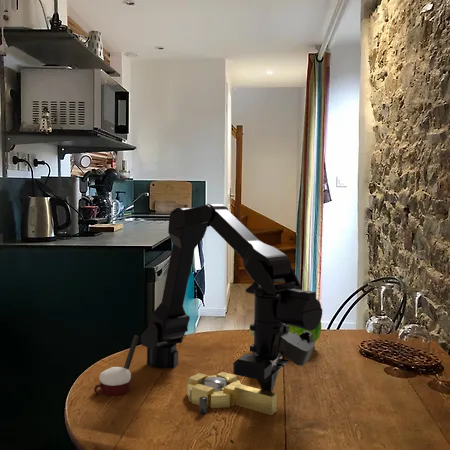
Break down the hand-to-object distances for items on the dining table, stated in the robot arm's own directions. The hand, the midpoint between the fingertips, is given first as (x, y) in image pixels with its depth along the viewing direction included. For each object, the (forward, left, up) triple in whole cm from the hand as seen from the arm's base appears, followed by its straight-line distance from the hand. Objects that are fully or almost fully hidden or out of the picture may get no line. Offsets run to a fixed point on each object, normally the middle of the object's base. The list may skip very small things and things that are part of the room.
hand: (267, 397), depth 103 cm
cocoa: (-31, -3, -4) cm, 31 cm away
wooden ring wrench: (-7, 0, -2) cm, 7 cm away
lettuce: (-5, +43, -3) cm, 44 cm away
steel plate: (-11, +1, -3) cm, 12 cm away
